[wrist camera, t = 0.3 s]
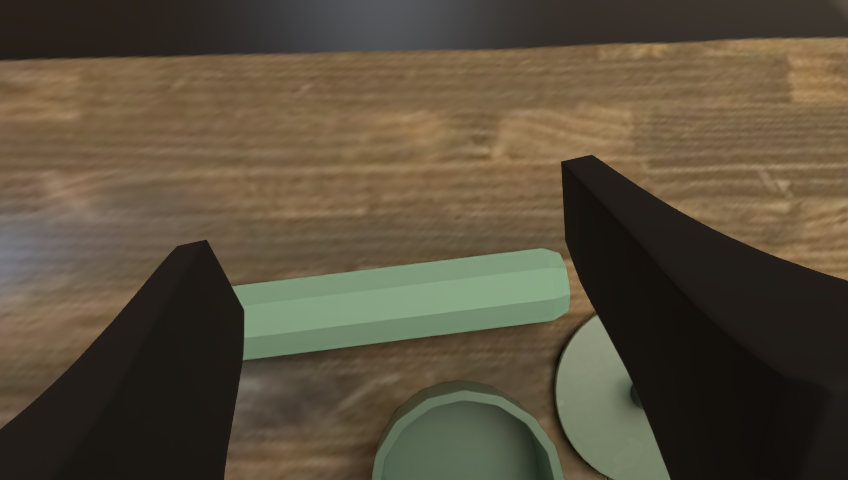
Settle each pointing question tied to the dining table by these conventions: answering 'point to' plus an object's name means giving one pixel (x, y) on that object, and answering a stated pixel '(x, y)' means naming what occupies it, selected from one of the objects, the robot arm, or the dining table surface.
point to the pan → (464, 438)
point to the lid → (604, 408)
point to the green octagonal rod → (402, 302)
